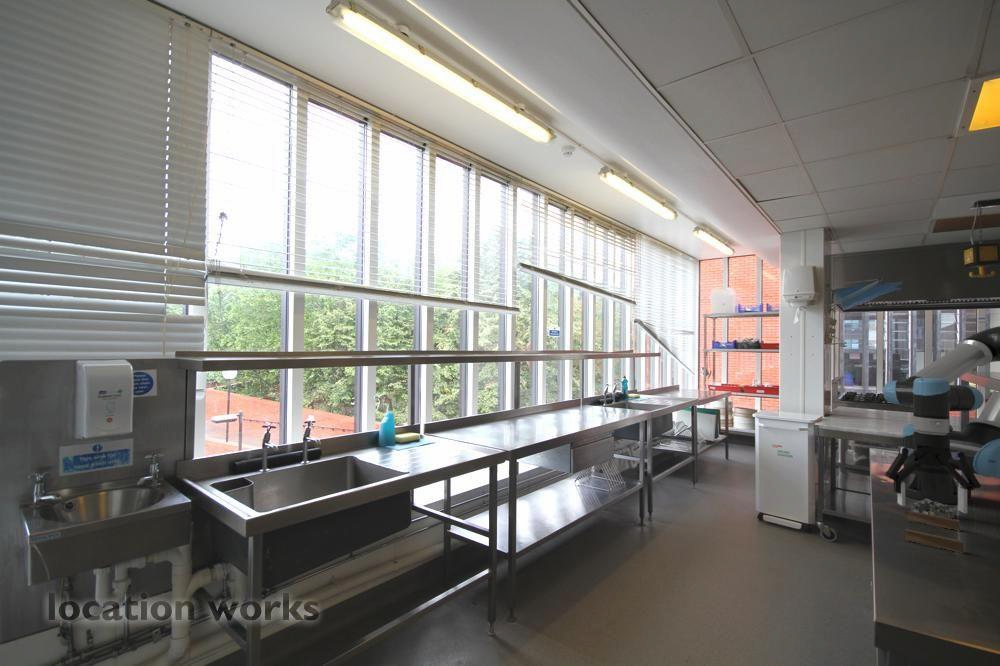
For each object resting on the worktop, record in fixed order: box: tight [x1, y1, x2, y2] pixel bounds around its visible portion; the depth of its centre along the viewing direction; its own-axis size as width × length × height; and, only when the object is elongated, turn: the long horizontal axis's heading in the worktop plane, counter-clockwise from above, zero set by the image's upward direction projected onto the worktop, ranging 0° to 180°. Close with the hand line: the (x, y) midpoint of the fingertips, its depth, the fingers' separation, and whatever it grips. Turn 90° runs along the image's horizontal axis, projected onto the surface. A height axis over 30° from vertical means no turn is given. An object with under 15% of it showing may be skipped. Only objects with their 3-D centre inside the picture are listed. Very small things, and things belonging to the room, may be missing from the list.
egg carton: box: [908, 498, 957, 519], centre depth 128 cm, size 11×8×4 cm
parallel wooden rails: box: [904, 510, 964, 554], centre depth 115 cm, size 19×10×2 cm, turn 137°
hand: (931, 508), depth 128 cm, fingers open, 13 cm apart
